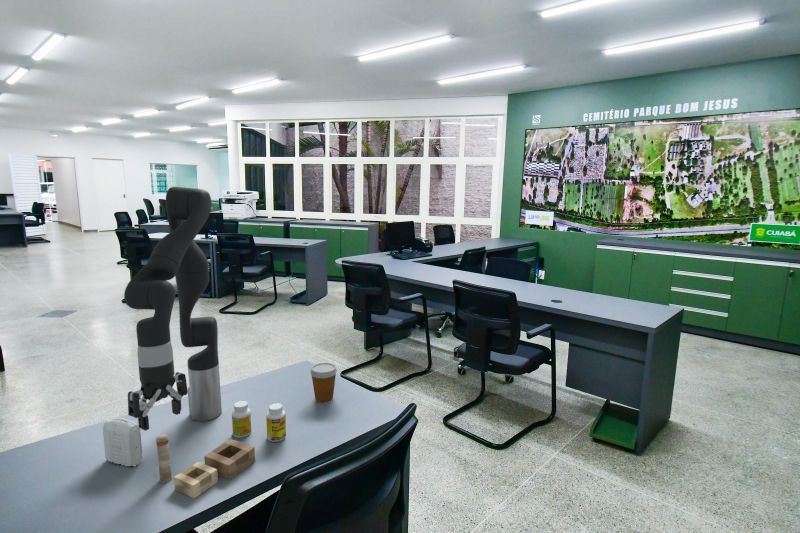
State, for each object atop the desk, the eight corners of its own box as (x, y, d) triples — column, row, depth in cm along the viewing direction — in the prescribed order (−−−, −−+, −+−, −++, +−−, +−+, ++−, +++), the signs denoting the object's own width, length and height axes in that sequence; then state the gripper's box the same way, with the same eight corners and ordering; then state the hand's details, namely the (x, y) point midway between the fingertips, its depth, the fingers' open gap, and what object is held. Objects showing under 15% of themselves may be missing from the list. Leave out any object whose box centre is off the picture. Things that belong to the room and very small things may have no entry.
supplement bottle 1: (231, 438, 131) (229, 408, 129) (235, 429, 136) (233, 400, 135) (249, 437, 132) (248, 407, 130) (252, 428, 137) (251, 399, 136)
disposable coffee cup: (335, 405, 152) (334, 373, 150) (308, 405, 152) (307, 372, 150) (339, 393, 161) (339, 362, 159) (313, 392, 162) (313, 361, 160)
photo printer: (145, 460, 120) (141, 418, 118) (132, 469, 116) (127, 426, 114) (117, 453, 123) (113, 412, 121) (103, 461, 119) (98, 420, 117)
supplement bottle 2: (270, 444, 128) (269, 412, 126) (264, 436, 133) (263, 404, 131) (288, 439, 131) (287, 407, 130) (282, 430, 136) (281, 400, 134)
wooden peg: (157, 481, 112) (153, 438, 110) (167, 474, 114) (163, 432, 112) (164, 484, 111) (160, 441, 109) (174, 478, 113) (170, 435, 111)
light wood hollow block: (175, 489, 109) (174, 476, 108) (198, 473, 115) (197, 461, 114) (194, 498, 106) (193, 485, 105) (217, 481, 112) (217, 469, 111)
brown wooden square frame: (205, 469, 117) (204, 455, 116) (231, 451, 125) (230, 438, 124) (229, 479, 113) (228, 465, 112) (255, 460, 121) (254, 447, 120)
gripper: (171, 348, 115) (176, 405, 118) (117, 367, 102) (123, 431, 105) (191, 353, 112) (195, 412, 114) (137, 373, 99) (143, 439, 102)
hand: (161, 421), depth 110 cm, fingers open, 8 cm apart
